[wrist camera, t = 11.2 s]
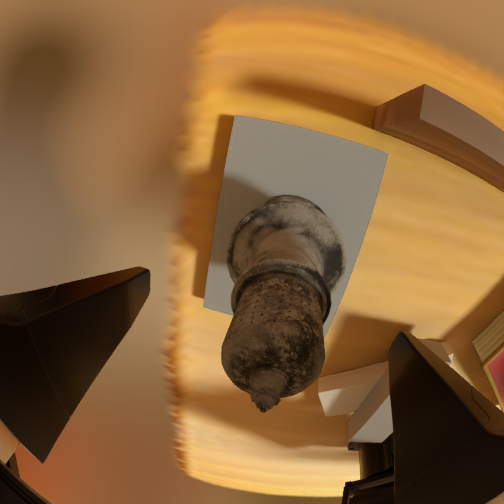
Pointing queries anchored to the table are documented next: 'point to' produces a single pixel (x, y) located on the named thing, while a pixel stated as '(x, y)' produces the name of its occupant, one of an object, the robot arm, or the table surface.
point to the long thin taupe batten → (445, 131)
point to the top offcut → (381, 406)
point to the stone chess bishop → (280, 297)
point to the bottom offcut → (352, 387)
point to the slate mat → (292, 190)
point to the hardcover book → (493, 355)
